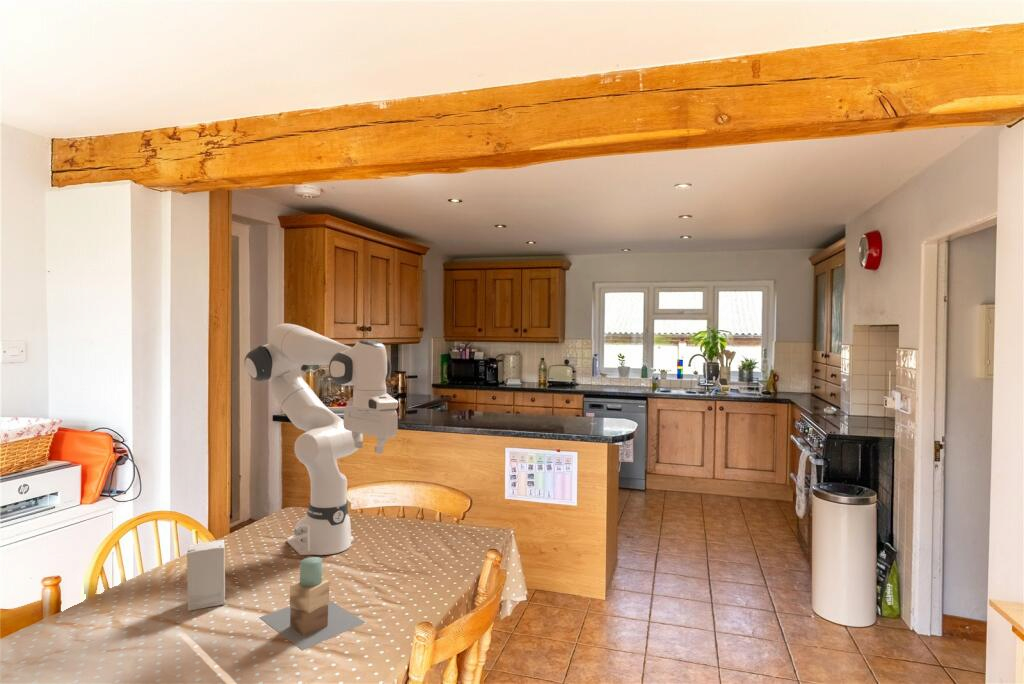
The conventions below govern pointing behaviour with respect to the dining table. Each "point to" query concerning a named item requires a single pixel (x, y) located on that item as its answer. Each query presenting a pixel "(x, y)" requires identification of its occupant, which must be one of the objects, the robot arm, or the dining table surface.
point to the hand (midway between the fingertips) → (368, 450)
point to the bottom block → (309, 620)
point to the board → (337, 624)
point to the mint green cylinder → (310, 572)
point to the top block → (309, 596)
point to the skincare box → (206, 574)
